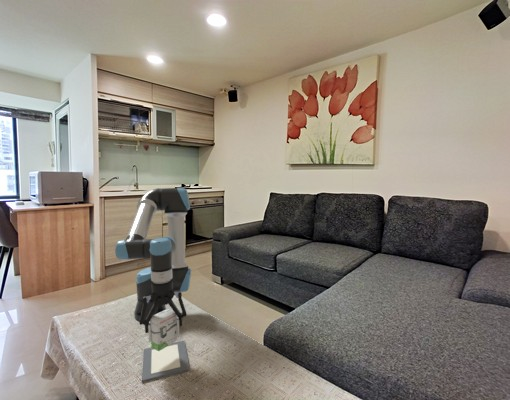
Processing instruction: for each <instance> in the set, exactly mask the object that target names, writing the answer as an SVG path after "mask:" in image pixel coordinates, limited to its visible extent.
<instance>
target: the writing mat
mask: <svg viewBox="0 0 510 400" xmlns="http://www.w3.org/2000/svg"><path fill="white" fill-rule="evenodd" d="M141 370H142V371H141V383H145V382H150V381H154V380H157V379H161V378H166V377H171V376H173V375H178V374H182V373H185V372H190V364H189V359H188V353H187V348H186V342H185V340H180V341H175V342H174V343H172V344H170V345H169V346H167V347H165V348H164V349H162V350H160V351H157V350H155V349H154V348H152V347H147V348H143V358H142V369H141Z"/></svg>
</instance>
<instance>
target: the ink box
mask: <svg viewBox="0 0 510 400" xmlns="http://www.w3.org/2000/svg"><path fill="white" fill-rule="evenodd" d="M150 326H151V342H150V343H151V345H150V346H151V347H152V348H154V349H155V350H157V351H160V350H162V349H164V348H165V347H167V346H169V345H170V344H172V343H175V342H178V336H177V315H176V314H175V312H174V311H173V309H172V308H166V310H164V311H162V312H160V313H157V314H155V315H153V316H152V318H151V320H150ZM151 347H150V348H151Z"/></svg>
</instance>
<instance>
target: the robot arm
mask: <svg viewBox="0 0 510 400" xmlns="http://www.w3.org/2000/svg"><path fill="white" fill-rule="evenodd" d="M190 203H191V202H190V198H189V192H188V190H187V189H186V188H184V187H183V188H182V187H170V188H167V187H166V188H153V189H151V190H149V191H148V192H146V193H144V195H142V196H141V198H140V199H139V200H138V201H137V204H136V213H135V215H134V217H133V220H132V222H131V226H130V229H129V230H128V233H127V235H126V237H125V239H122V240H118V241H117V242H116V244H115V248H114V254H115V257H116V258H117V259H118V260H140V259H149V260H150V267H146V268H144V269H142V270H140V271H138V272H137V274H136V280H135V284H136V297H137V298H136V301H137V302H136V305H135V307H134V312H133V314H134V317H133V318H134V319H135V320H137V321H139V325H140V326H141V325H144V332H145V334H148V343H151V326H150V320H151V318H152V316H153V315H155V314H157V313H160V312H162V311H164V310H166V309H167V308H166V306H167V305H168V306H169V307H171V308H170V309H171V310H173V311H174V312H175V314H176V315H177V337H180V327H182V326H183V318H184V317H185V318H186V317H187V316H188V315H187V310H186V306H185V305H184V302H183V298H182V297H183V295H182V293H184V292H188V291H189V289H190V284H191V276H192V268H190V267H189V264H188V263H187V262H186V237H185V234H186V233H185V232H186V231H185V230H186V229H185V227H186V225H185V218H186V217H185V216H186V215H187V214H188V211H190V210H191V205H190ZM157 211H164V215H165V216H166V217H167V236H163V237H158V238H151V239H148V238H147V237H148V232H149V229H150V226H151V223H152V220H153V216H154V215H155V214H156V213H157ZM174 296H175V298H177V300H178V303H179V306H180V308H181V311H180V309H179V308H178V307H177V306H176V304H175V302H174V301H173V298H174Z"/></svg>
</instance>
